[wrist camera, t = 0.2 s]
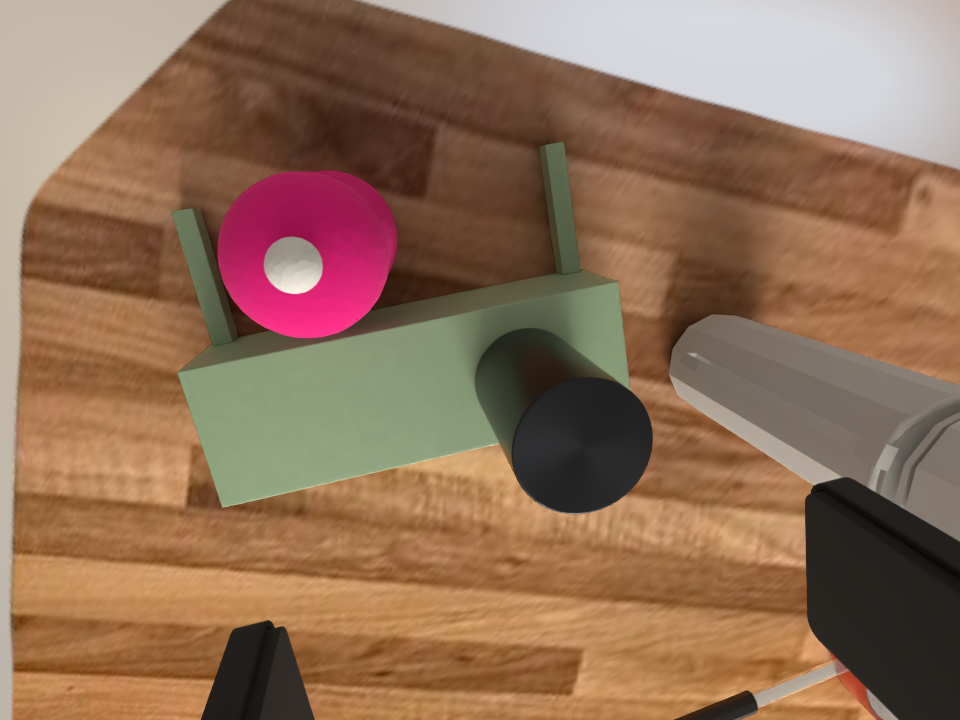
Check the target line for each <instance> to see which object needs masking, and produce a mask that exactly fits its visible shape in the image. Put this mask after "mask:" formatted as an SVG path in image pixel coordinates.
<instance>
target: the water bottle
mask: <svg viewBox="0 0 960 720" xmlns="http://www.w3.org/2000/svg"><path fill="white" fill-rule="evenodd" d="M669 376H670V378H671V381H672V383H673V386H674V388H675V391H676V393H677V396H678V397H680V398H681V399H683V400H684V401H686V402H687V403H689V404H690V405H692V406H693V407H695V408H696V409H698V410H699V411H701V412H702V413H704V414H705V415H707V416H708V417H710V418H712V419H713V420H715V421H716V422H718V423H719V424H721V425H722V426H724V427H725V428H727V429H728V430H730V431H732V432H733V433H735V434H736V435H738V436H739V437H741V438H742V439H744V440H745V441H747V442H748V443H750V444H752V445H753V446H755V447H756V448H758V449H759V450H761V451H762V452H764V453H765V454H767V455H768V456H770V457H771V458H773V459H775V460H776V461H778V462H779V463H781V464H782V465H784V466H785V467H787V468H788V469H790V470H791V471H793V472H795V473H796V474H798V475H799V476H801V477H802V478H804V479H805V480H807V481H808V482H810V483H811V484H813V485H816V484H818V483H822V482H826V481H830V480H834V479H838V478H842V477H849V478H852V479H854V480H856V481H857V482H859V483H861V484H863V485H864V486H866V487H868V488H869V489H871V490H873V491H875V492H876V493H878V494H880V495H881V496H883V497H885V498H886V499H888V500H890V501H892V502H893V503H895V504H897V505H898V506H900V507H902V508H904V509H905V510H907V511H909V512H910V513H912V514H914V515H916V516H917V517H919V518H921V519H922V520H924V521H926V522H927V523H929V524H931V525H933V526H934V527H936V528H938V529H939V530H941V531H943V532H945V533H946V534H948V535H950V536H951V537H953V538H955V539H957V540H958V541H960V386H959V385H956V384H952V383H949V382H946V381H943V380H940V379H936V378H933V377H930V376H927V375H924V374H921V373H917V372H914V371H911V370H908V369H905V368H901V367H898V366H895V365H892V364H889V363H886V362H882V361H879V360H876V359H873V358H870V357H866V356H863V355H860V354H857V353H854V352H851V351H847V350H844V349H841V348H838V347H835V346H831V345H828V344H825V343H822V342H819V341H816V340H812V339H809V338H806V337H803V336H800V335H796V334H793V333H790V332H787V331H784V330H781V329H777V328H774V327H771V326H768V325H765V324H761V323H758V322H755V321H752V320H749V319H746V318H742V317H739V316H735V315H713V314H712V315H710V316H708V317H706V318H704V319H702V320H700V321H698V322H696V323H694V324H693V325H691V326H689V327H688V328H687V329H686V331H685V332H684V334H683V335H682V336H681V338H680V339H679V340H678V342H677V343H676V345H675V346H674V347H673V350H672V356H671V363H670V370H669Z"/></svg>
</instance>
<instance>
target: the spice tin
mask: <svg viewBox="0 0 960 720" xmlns="http://www.w3.org/2000/svg"><path fill="white" fill-rule="evenodd" d="M475 389H476V394H477V398H478V400H479V403H480V405H481V407H482V409H483V411H484V413H485V415H486V417H487V419H488V421H489V423H490V425H491V427H492V429H493V431H494V433H495V435H496V438H497V440H498V442H499V444H500V446H501V448H502V450H503V452H504V454H505V456H506V458H507V460H508V462H509V464H510V466H511V468H512V470H513V472H514V474H515V476H516V478H517V480H518V482H519V484H520V485H521V487H522V488H523V490H524V491H525V492H526V493H527V495H528V496H530V497H531V498H532V499H533V500H534V501H535V502H537V503H538V504H540V505H541V506H543V507H545V508H547V509H550V510H553V511H556V512H560V513H565V514H584V513H590V512H594V511H597V510H601V509H603V508H605V507H608V506H610V505H612V504H613V503H615V502H617V501H618V500H620V499H621V498H622V497H624V496H625V495H626V494H627V493H628V492H629V491H630V490H631V489H632V488H633V487H634V486H635V485H636V483H637V482H638V481H639V479H640V478H641V476H642V475H643V473H644V471H645V469H646V467H647V465H648V462H649V459H650V455H651V451H652V443H653V434H652V426H651V422H650V418H649V415H648V413H647V411H646V409H645V407H644V405H643V404H642V403H641V401H640V400H639V399H638V398H637V396H636V395H635V394H634V393H633V392H631V391H630V390H629V389H627V388H626V387H625V386H624V385H622V384H621V383H620V382H618V381H617V380H616V379H614V378H613V377H612V376H610V375H609V374H608V373H606V372H605V371H604V370H602V369H601V368H600V367H598V366H597V365H596V364H594V363H593V362H592V361H590V360H589V359H588V358H586V357H585V356H584V355H582V354H581V353H580V352H578V351H577V350H576V349H574V348H573V347H572V346H570V345H569V344H568V343H566V342H565V341H564V340H562V339H561V338H560V337H558V336H557V335H555V334H553V333H551V332H549V331H546V330H542V329H537V328H523V329H518V330H514V331H511V332H509V333H506V334H504V335H503V336H501V337H499V338H498V339H497V340H495V341H494V342H493V343H492V344H491V345H490V346H489V347H488V348H487V350H486V351H485V352H484V354H483V355H482V357H481V359H480V361H479V364H478V366H477V370H476V375H475Z"/></svg>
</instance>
